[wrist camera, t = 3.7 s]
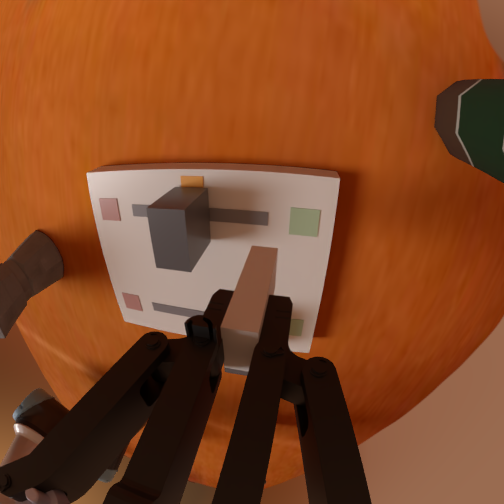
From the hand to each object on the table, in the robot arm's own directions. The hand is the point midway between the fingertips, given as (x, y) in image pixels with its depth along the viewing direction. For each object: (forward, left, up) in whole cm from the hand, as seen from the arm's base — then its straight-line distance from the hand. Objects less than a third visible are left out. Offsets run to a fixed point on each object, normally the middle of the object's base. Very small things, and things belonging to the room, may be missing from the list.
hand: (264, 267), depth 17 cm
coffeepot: (-36, -10, -10) cm, 39 cm away
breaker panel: (-7, -6, -10) cm, 14 cm away
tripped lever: (-7, 0, -7) cm, 10 cm away
